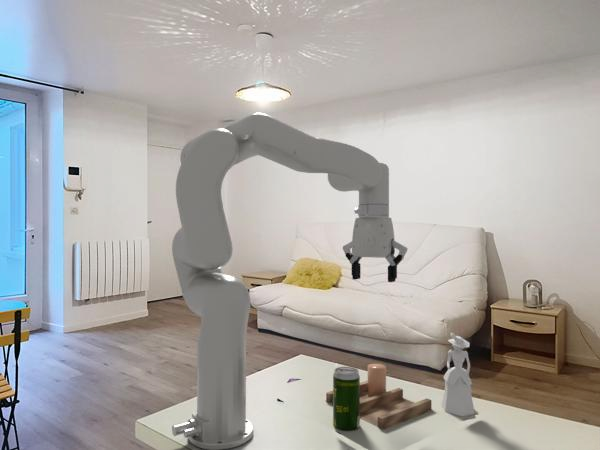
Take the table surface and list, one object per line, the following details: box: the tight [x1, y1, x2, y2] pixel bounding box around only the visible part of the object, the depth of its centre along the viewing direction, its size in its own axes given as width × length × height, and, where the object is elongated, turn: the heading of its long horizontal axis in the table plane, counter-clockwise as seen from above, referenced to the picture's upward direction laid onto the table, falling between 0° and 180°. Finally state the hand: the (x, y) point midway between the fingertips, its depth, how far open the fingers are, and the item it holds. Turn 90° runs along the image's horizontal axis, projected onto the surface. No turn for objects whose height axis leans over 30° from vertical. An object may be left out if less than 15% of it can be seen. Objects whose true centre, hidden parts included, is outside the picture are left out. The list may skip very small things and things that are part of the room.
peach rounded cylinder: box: [367, 363, 387, 397], centre depth 102 cm, size 4×4×7 cm
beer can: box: [332, 366, 361, 435], centre depth 87 cm, size 5×5×12 cm
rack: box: [325, 380, 433, 431], centre depth 97 cm, size 16×18×3 cm
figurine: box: [440, 332, 476, 422], centre depth 95 cm, size 7×8×18 cm
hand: (373, 280), depth 107 cm, fingers open, 9 cm apart
